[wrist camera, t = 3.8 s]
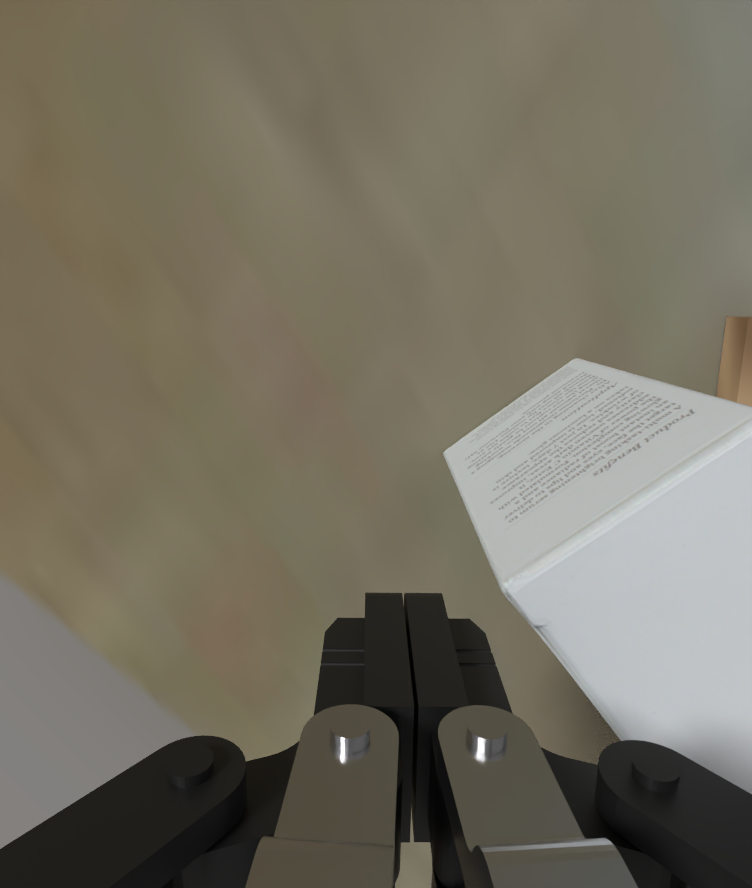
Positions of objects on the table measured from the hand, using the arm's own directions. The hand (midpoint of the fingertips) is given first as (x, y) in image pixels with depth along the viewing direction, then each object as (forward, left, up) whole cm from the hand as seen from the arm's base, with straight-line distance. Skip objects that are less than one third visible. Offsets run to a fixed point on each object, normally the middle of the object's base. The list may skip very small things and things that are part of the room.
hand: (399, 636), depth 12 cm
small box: (0, +6, -10) cm, 12 cm away
